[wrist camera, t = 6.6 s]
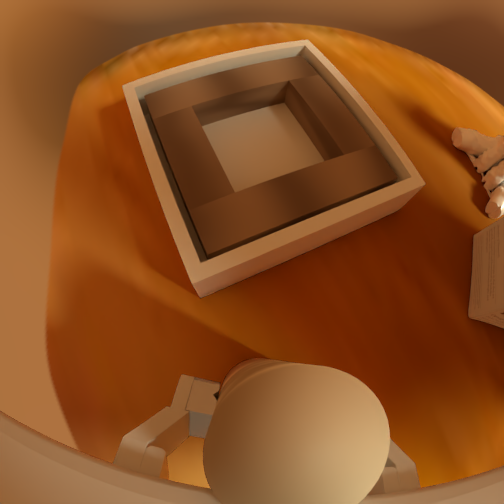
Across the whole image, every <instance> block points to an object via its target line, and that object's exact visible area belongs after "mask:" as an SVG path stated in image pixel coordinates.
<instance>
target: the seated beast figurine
mask: <svg viewBox="0 0 504 504" xmlns="http://www.w3.org/2000/svg"><path fill="white" fill-rule="evenodd" d="M452 141H453V145H454V146H455V147H457V149H459V150H462V151H464V152H465V153H466V154H467V155H468V157H469V158H470V160H471V161H472V163H473V165H474V167H477V170H476V171H477V172H478V173H481V175H482V182H485V184H484V185H483V186H484V188H485V189H486V191H487V193H488V195H489V197H490V200H489V201H488V203H487V206H486V208H485V212H486V213H487V214H488V217H490V218H498V217H501V216H502V215H504V136H501V135H498V136H497V137H495V138H493V137H487V136H486V135H483V134H480V133H479V132H477V130H471V129H464V128H459V127H457V128H455V129H454V131H453V133H452ZM474 156H475V157H477V158H475V157H474ZM489 169H490V170H489ZM488 170H489V171H488ZM485 171H488V172H487V173H486V175H485V176H484V174H483V172H485ZM494 188H496V189H495V190H493V189H494ZM490 190H491V191H492V193H490Z"/></svg>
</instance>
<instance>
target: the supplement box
mask: <svg viewBox="0 0 504 504" xmlns="http://www.w3.org/2000/svg"><path fill="white" fill-rule="evenodd" d="M468 317H469V318H471V319H475V320H479V321H483V322H486V323H489V324H492V325H495V326H498V327H500V328H503V329H504V217H502V218H501V219H499V220H498V221H496V222H494V223H493V224H491V225H490V226H488V227H486V228H485V229H483V230H481V231H480V232H478V233H476V234H474V236H473V260H472V276H471V289H470V300H469V309H468Z"/></svg>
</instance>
